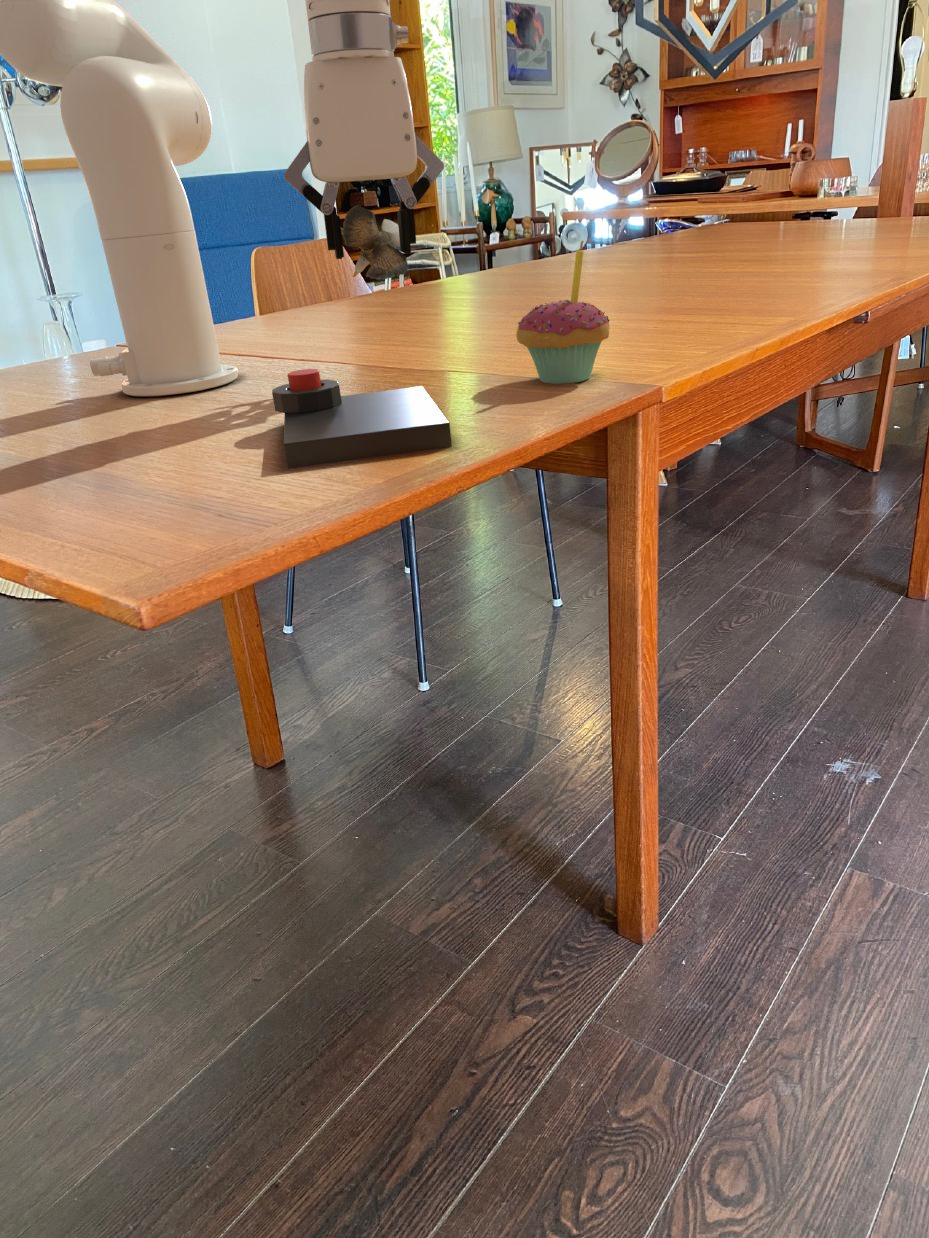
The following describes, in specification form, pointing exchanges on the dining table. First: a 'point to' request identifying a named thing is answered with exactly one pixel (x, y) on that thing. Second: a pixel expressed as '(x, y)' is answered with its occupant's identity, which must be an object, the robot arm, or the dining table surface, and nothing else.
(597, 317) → the cupcake
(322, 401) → the dark grey flat block
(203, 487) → the dining table surface
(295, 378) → the button
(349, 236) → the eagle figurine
